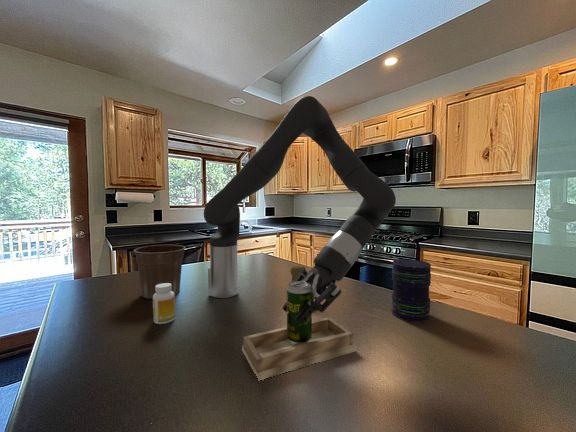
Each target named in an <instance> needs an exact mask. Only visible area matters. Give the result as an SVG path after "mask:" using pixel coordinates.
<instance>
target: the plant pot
mask: <svg viewBox="0 0 576 432" xmlns="http://www.w3.org/2000/svg"><path fill="white" fill-rule="evenodd" d="M185 250H186V246H184V245H179V244H157V245H156V244H155V245H146V246H142V247H137V248H135V249H133V253H135V254H134V255H135V259H136V262H135V263H137V269H138V277H139V283H140V286H139V287H140V294H141V297H142V298H145V299H148V300H153V295H154V294H155V293H157V292H156V291H155V286H156V285H158V284H162V283H170V284H171V285H172V289H171V291H173V292H174V295H175V296H176V295H178V294H179V293H180V292H181V280H182V267H183V260H184V255H185Z"/></svg>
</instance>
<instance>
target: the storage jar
mask: <svg viewBox="0 0 576 432" xmlns="http://www.w3.org/2000/svg"><path fill="white" fill-rule="evenodd" d="M392 265H393V266H392V270H391V271H392V273H391V274H392V277H391V278H392V282H393V284H392V286H393V287H392V293H391V307H392V310H391V314H392V315H393V316H394V317H395V318H397V319H399V320H400V321H401V320H402V321H405V322H409V323H419V324H420V323H421V324H422V323H425V322H426V323H427V322H428V321H429V320H430V310H431V298H430V286H431V284H432V282H431V279H432V273H431V268H432V267H431V266H432V265H431V263H430V262H427V261H424V260H419V259H410V258H409V259H408V258H400V259H398V258H397V259H394V260H392Z"/></svg>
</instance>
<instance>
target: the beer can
mask: <svg viewBox="0 0 576 432" xmlns="http://www.w3.org/2000/svg"><path fill="white" fill-rule="evenodd" d="M310 289H311V285H310V283H308V282H303V281H295V282H289V283H288V284H287V288H286V302H287V312H286V327H287V338H288V340H289V342H290V343H292V344H294V345H301V344H305V343H308V342H310V340H311V337H312V321H313V319H312V316H313V314H312V315H311V316H310V317H309V319H308V320H307V321H306V322H305V323H304V324H303V325H300V324H299V323H298V322H297V321H295V317H296V315H297V314H298V313H299V311H300V310H301V309H302V307H303V306H304V305H305V304H306V305H307V301H308V298H309V296H310Z"/></svg>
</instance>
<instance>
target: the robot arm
mask: <svg viewBox="0 0 576 432" xmlns="http://www.w3.org/2000/svg"><path fill="white" fill-rule="evenodd" d="M302 134H304V135H305V136H307V137H309V138H310V139H311V140H313V141H314V142H315V143H316V144H317V145H318V146H319V147H320V149H321V150H322V151H323V152H324V153H325V156H326V157H327V158H328V161H329V163H330V165H331V167H332V169H333V171H334V172H335V174H336V175H337V176H338V178H339V179H340V180H341V182H342V183H343V185H344V186H345V187H346V188H347V190H349V191H351V192H354V193H355V192H357V193H358V194H359V195H360V196H361V197H362V201H361V203H360V204H359V206H358V208H357V209H356V210H355V211H354V213H353V214H352V215H350V216H349V217H348V218H347V219H346V220H345V221H344V222H343V224H342V225H341V226H340V228H339V229H338V230H337V231H336V232H335V234H333V235H332V236H331V237H330V238H329V240H328V241H327V242H326V243H325V244H324V246H323V247H322V248H321V250H320V251H319V252H318V254H317V255H316V256H315V257H314V259H313V263H314V266H313V267H312V268H311V269H310V270H308V271H307V269H306V270H305V269H302V270H301V271H300V273H299V274H298V276H297V277H296V279H295V281H303V282H308V283H310V285H311V289H310V296H309V298H308V301H307V305H306V304H305V305H304V306H303V307H302V309H301V310H300V311H299V313H298V314H297V315H296V317H295V321H297V322H298V323H299V324H300V325H303V324H304V323H305V322H306V321H307V320H308V319H309V317H310V316H311V315H312V316H313V313H315V312H320V313H324V312H325V311H326V310H327V308H328V307H329V306H331V304H332V303H334V301H335V300H336V299H337V298H339V296H341V294H342V290H341V289H340V287H339V286H338V285H337V284H336V282H342V280H343V278H344V277H346V276H345V275H347V273H348V271H350V270H351V268H352V267H353V265H354V263H355V262H357V261H356V260H357V259H358V257H359V256H360V254H361V252H362V250H364V248H365V247H366V245H367V244H368V243H369V241H370V240H371V238H372V237H373V234H374V232H375V231H376V230H377V229H378V228H379V226H380V225H381V224H382V223H383V221H384V220H385V219H386V218H387V217H388V215H389V214H390V213H391V211H392V210H393V208H395V205H396V201H397V199H396V194H395V192H394V190H393V188H391V186H390V185H389V184H388V183H387V182H386V181H384V180H383V179H382V178H380V177H379V176H378V175H377V174H375V173H373V172H372V171H371V170H369V168H368V167H367V165H366V164H365V163H364V162H363V160H362V159H361V158H360V156H358V155H357V153H356V152H355V151H354V150H353V149H352V148H351V147H350V145H349V144H347V142H346V141H345V139H344V138H343V137H342V136H341V134H340V133H339V131H338V130H337V128H336V126H335V124H334V122H333V120H332V118H331V117H330V114H329V113H328V110H327V109H326V108H325V107H324V106H323V105H322V103H320V101H319V100H318V99H317V98H316V97H314V96H311V95H307V96H303V97H301V98H299V99H298V100H297V101H296V102H295V103H294V104H293V105H292V106H291V108H290V109H289V110H288V111H287V113H286V114H285V115H284V117H283V119H282V120H281V121H280V122H279V124H278V125H277V126H276V128H275V129H274V130H273V131H272V133H271V134H270V135H269V137H268V138H267V139H266V140H265V141H264V143H263V144H262V145H261V146H260V147H259V148H258V149H257V151H256V152H255V153H253V154H252V156H251V157H250V158H249V159H247V161H246V163H245V164H244V165H243V166H242V167H241V169H240V170H239V171H238V172H237V173H236V174H235V175H234V176H233V177H232V178H231V179H230V181H229V182H228V183H227V184H226V185H225V186H224V187H223V188H222V189H221V190H219V192H217V193H216V194H215V195H214V196H213V197H211V198H210V200H208V202H207V203H206V205H205V206H204V208H203V218H204V221H205V222H206V223H207V224H208V225H210V226H214V227H217V230H216V231H215V233H214V234H213V235H211V236H210V238H209V263H210V264H209V265H210V266H209V267H208V268H207V284H208V285H207V288H208V289H207V294H208V296H209V297H213V298H215V299H216V298H217V299H227V298H231V297H235V296H236V295H238V293H239V292H238V291H239V283H238V282H239V281H238V278H239V277H238V276H239V275H238V272H239V271H238V270H239V269H238V266H239V265H238V239H239V236H240V226H241V212H240V206H239V204H240V203H241V202H242V201H244V200H245V199H246V198H249V197H250V196H252V195H254V194H255V193H257V192H259V191H260V190H262V189H263V188H264V187H265V186H267V185H268V184H269V182H271V181H272V180H273V179H274V177H275V176H277V175H278V174H279V172H280V170H281V169H282V166H283V164H284V161H285V158H286V155H287V153H288V151H289V149H290V147H291V146H292V145H293V143H294V142H295V141H296V140H297V139H298V138H299V137H300V136H301V135H302ZM295 281H294V282H295ZM324 300H325V301H324ZM282 310H283V311H284V312H285V313H287V301H286V302H284V305H282Z"/></svg>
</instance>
